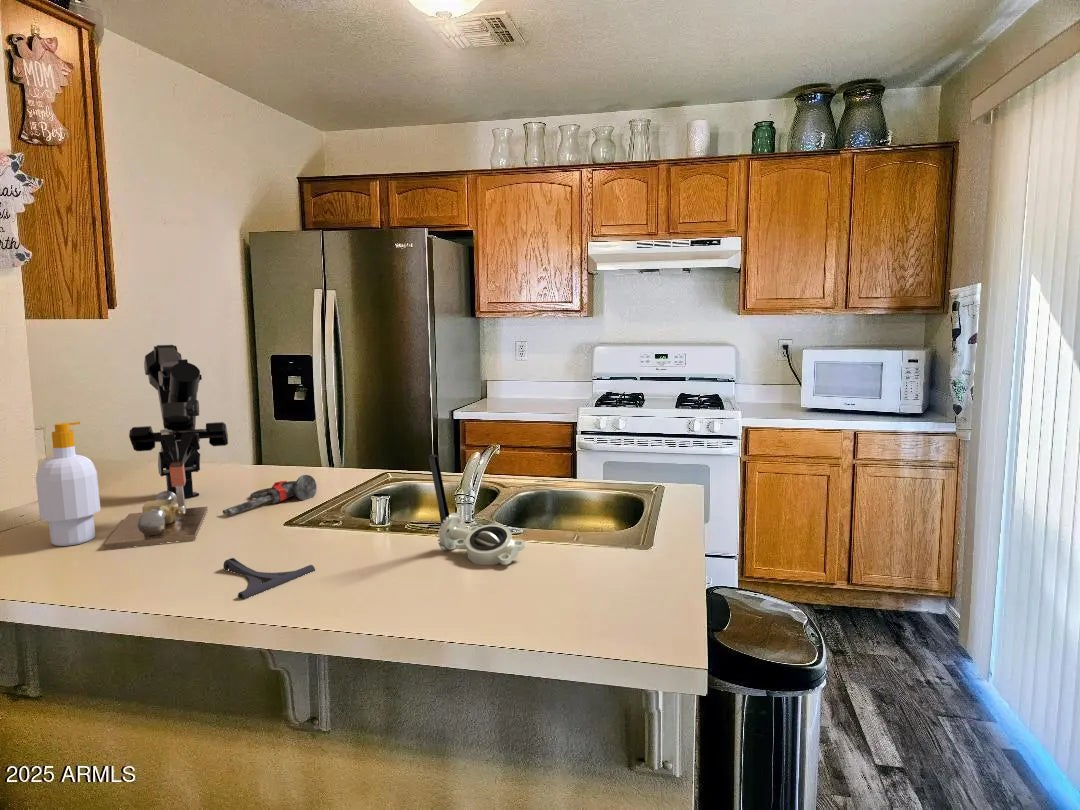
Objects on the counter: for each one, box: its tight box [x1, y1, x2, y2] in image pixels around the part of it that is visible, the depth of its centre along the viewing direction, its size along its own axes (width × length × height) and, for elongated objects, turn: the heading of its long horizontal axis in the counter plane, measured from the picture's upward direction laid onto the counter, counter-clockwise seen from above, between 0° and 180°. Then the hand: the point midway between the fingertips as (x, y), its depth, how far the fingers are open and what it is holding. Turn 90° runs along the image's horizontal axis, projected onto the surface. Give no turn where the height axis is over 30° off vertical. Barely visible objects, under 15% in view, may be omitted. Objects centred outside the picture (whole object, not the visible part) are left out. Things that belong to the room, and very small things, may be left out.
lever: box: [169, 462, 187, 514], centre depth 147 cm, size 2×2×12 cm
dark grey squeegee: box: [223, 557, 316, 600], centre depth 121 cm, size 14×15×3 cm
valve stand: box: [103, 490, 209, 551], centre depth 147 cm, size 22×16×6 cm
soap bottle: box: [35, 421, 101, 547], centre depth 139 cm, size 10×10×24 cm
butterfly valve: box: [428, 454, 525, 566], centre depth 127 cm, size 9×20×17 cm
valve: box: [222, 474, 318, 516], centre depth 168 cm, size 6×26×15 cm
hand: (178, 468), depth 147 cm, fingers closed, pressing on lever
